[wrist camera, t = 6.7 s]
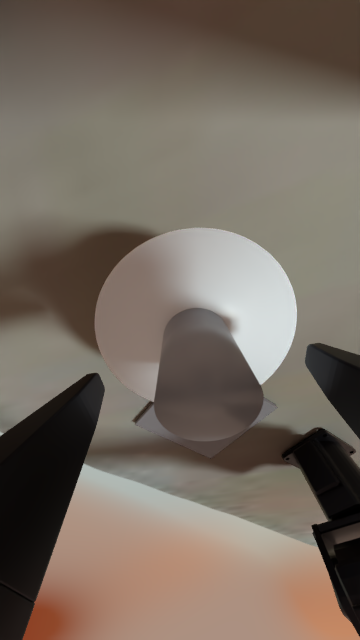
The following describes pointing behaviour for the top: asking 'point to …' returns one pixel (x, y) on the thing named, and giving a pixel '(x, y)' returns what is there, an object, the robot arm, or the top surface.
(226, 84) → the top surface
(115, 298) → the lid
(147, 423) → the mat
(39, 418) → the robot arm
